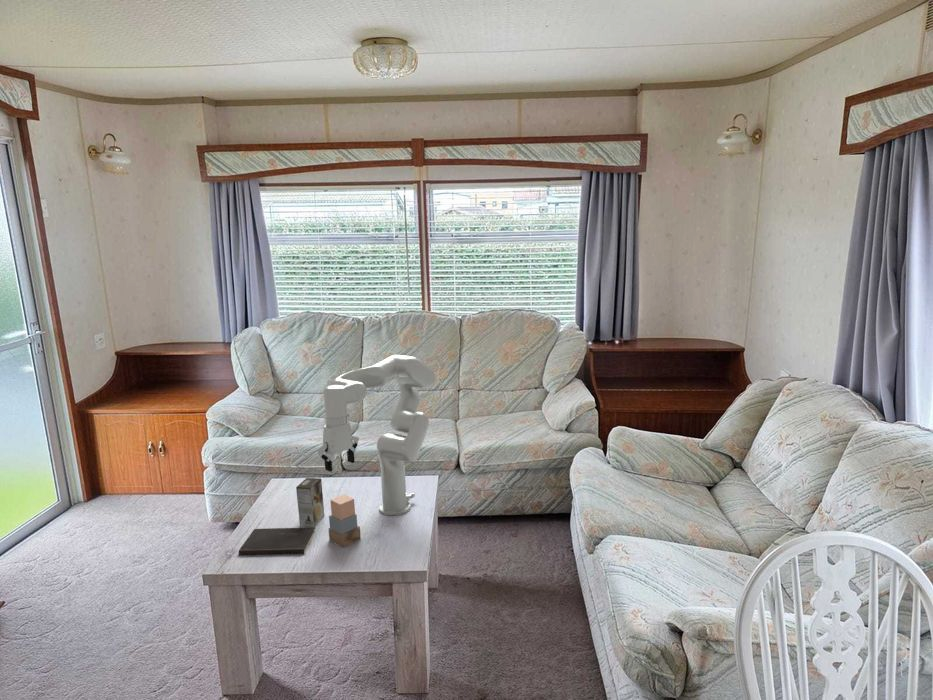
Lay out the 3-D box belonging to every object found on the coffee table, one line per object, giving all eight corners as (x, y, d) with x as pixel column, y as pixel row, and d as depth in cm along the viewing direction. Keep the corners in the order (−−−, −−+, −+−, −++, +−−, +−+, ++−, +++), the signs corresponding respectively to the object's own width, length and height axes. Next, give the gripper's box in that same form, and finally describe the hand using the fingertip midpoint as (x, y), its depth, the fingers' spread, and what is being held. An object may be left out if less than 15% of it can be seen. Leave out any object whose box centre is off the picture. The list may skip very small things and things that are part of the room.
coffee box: (309, 514, 237) (306, 477, 234) (324, 516, 236) (321, 478, 232) (299, 525, 228) (295, 486, 225) (314, 527, 227) (311, 487, 224)
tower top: (345, 521, 220) (344, 508, 219) (357, 527, 216) (356, 514, 215) (329, 528, 215) (328, 515, 214) (341, 534, 211) (340, 521, 210)
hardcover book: (254, 534, 224) (254, 528, 223) (315, 532, 223) (315, 527, 223) (238, 557, 208) (238, 551, 208) (304, 555, 208) (303, 549, 207)
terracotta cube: (345, 509, 219) (344, 494, 218) (355, 514, 215) (354, 498, 214) (331, 515, 215) (330, 499, 214) (341, 520, 211) (340, 504, 210)
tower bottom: (347, 532, 222) (346, 520, 221) (360, 539, 217) (359, 526, 216) (329, 541, 217) (328, 528, 216) (342, 548, 211) (341, 535, 210)
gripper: (349, 412, 217) (352, 456, 220) (309, 424, 204) (313, 471, 208) (363, 416, 212) (366, 461, 216) (322, 429, 199) (326, 476, 203)
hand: (340, 466), depth 212 cm, fingers open, 9 cm apart
